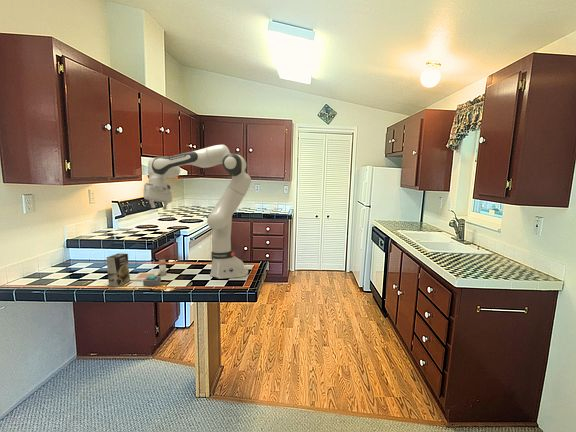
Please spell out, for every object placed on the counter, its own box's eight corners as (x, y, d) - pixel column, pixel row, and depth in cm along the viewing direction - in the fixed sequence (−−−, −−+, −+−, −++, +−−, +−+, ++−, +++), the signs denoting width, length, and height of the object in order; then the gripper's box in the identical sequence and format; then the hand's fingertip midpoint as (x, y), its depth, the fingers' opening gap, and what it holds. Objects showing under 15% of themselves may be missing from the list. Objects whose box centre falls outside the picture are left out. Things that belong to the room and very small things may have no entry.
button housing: (161, 281, 175) (160, 276, 175) (156, 285, 168) (156, 280, 168) (148, 281, 175) (148, 276, 175) (143, 286, 168) (142, 280, 168)
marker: (167, 274, 187) (166, 259, 186) (165, 276, 184) (164, 261, 183) (161, 274, 187) (160, 259, 186) (158, 276, 184) (157, 261, 182)
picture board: (159, 273, 188) (159, 272, 188) (152, 280, 176) (152, 278, 176) (139, 274, 188) (139, 272, 188) (130, 281, 176) (130, 279, 176)
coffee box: (118, 287, 167) (116, 257, 164) (108, 286, 168) (105, 257, 166) (130, 281, 176) (128, 253, 173) (120, 280, 177) (118, 252, 175)
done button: (156, 278, 173) (156, 275, 173) (154, 280, 170) (154, 277, 169) (150, 278, 173) (149, 275, 173) (147, 280, 169) (147, 277, 169)
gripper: (148, 181, 172) (150, 205, 171) (173, 187, 192) (175, 209, 190) (139, 183, 174) (141, 207, 172) (164, 189, 194) (166, 211, 192)
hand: (159, 208), depth 181 cm, fingers open, 8 cm apart
